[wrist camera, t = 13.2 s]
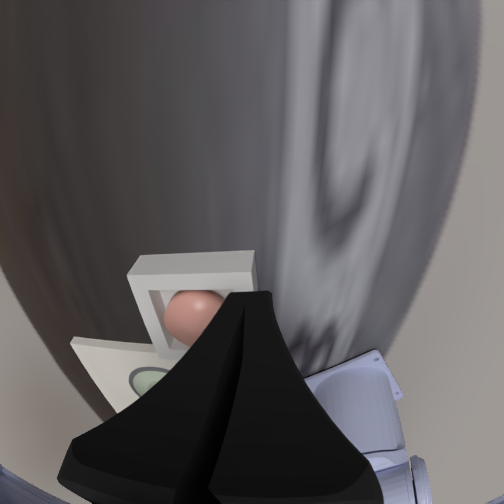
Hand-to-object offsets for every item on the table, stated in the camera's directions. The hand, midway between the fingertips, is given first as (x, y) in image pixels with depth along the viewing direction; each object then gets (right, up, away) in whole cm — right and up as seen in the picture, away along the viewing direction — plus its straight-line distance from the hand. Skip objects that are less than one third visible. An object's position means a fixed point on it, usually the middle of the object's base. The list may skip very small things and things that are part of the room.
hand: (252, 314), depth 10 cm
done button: (-4, -2, +11) cm, 12 cm away
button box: (-4, -1, +12) cm, 13 cm away
